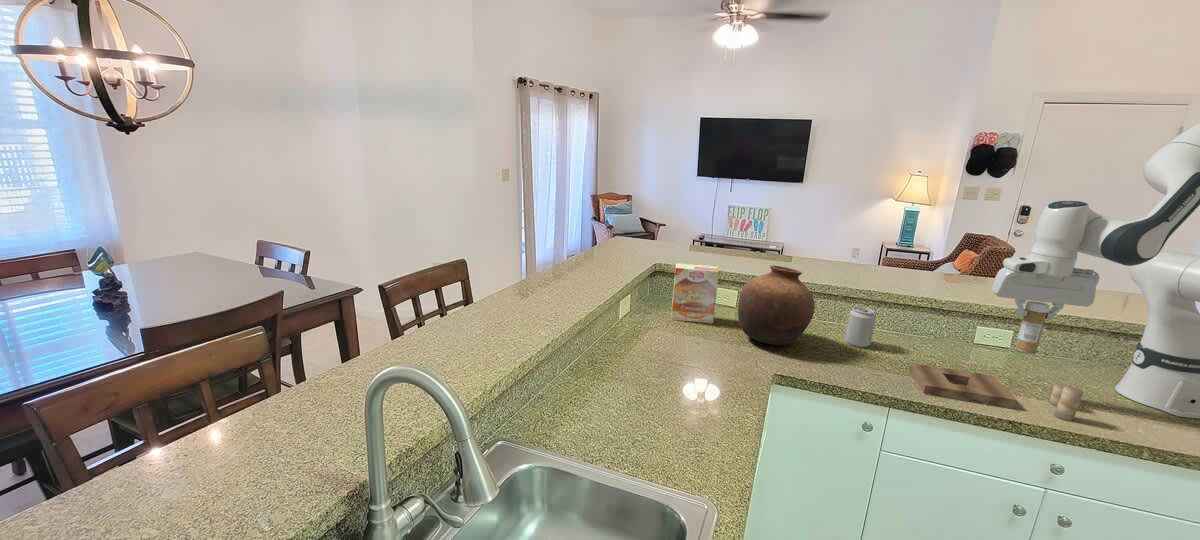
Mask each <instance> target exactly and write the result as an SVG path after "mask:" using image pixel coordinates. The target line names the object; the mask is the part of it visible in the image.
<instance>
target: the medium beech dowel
mask: <svg viewBox="0 0 1200 540" xmlns="http://www.w3.org/2000/svg"><path fill="white" fill-rule="evenodd" d="M1064 386H1065V387H1064V388H1063V391H1062V394H1061V397H1060V400H1059V403H1058V405H1057V407H1055V408H1056V409H1055V411H1054V417H1056V418H1058V419H1060V420H1063V421H1067V422H1073V421H1074V419H1075V417H1076V415H1077V414H1076V413H1077V411H1078V408H1079V405H1080V402H1081V400H1082V397H1083V394H1084V391H1082V390H1081V389H1079V388H1076V387H1073V386H1069V385H1068V386H1066V385H1064Z"/></svg>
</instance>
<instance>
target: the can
mask: <svg viewBox="0 0 1200 540" xmlns="http://www.w3.org/2000/svg"><path fill="white" fill-rule="evenodd" d="M876 319H877V315H875V310H873V309H871V308H869V307H866V306H865V307H864V306H853V307H852V310H850V311H849V315H848V321H847V327H846V332H845V337H844V340H845V341H846V343H847V344H849V345H850V346H852V347H856V348H863V349H864V348H867V347H869V346H870V345H871V344H872V339H873V335H874V329H875V324H876Z"/></svg>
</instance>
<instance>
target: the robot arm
mask: <svg viewBox="0 0 1200 540" xmlns="http://www.w3.org/2000/svg"><path fill="white" fill-rule="evenodd" d="M1142 172H1143V177H1144V180H1145V181H1146V183H1147V184H1148V185H1149V186H1150V187H1151V188H1152V189H1154V190H1155V191H1157V192H1158V193H1161V194H1162V195H1164V196H1163V197H1162V199H1161V200H1160V201H1158V203H1157V204H1156V205H1155V206H1154V207H1153V208H1152V209H1151V210H1150V211H1149V212H1148V213H1147V214H1145V216H1144V217H1142V218H1138V219H1133V220H1132V219H1131V220H1127V219H1120V218H1111V217H1107V216H1103V215H1102V214H1099V213H1097V212H1096V211H1093V209H1091V208H1090V206H1089V203H1087V202H1084V201H1078V200H1059V201H1053V202H1051V203H1048V204H1046V206H1045V208H1044V209H1043V211H1042V212H1041V214H1040V217H1039V219H1038V222H1037V225H1036V228H1035V231H1034V243H1033V245H1032V246H1031V248H1030V250H1029V253H1028V254H1025V255H1020V256H1012V257H1007V258H1004V259H1003V261H1002V265H1003V266H1004V267H1002V268H1001V269H999V270H998V271H997V272H996V275H995V278H994V281H993V284H992V287H991V291H992V293H993V294H994V295H995V296H996V297H999V298H1005V299H1006V298H1007V299H1013V300H1014V302H1015V304H1016V307H1017V310H1016V314H1017V316H1018V317H1024V316H1025V317H1026V316H1027V313H1028V310H1026V308H1025V306H1024V305H1026V303H1027V301H1035V302H1041V303H1049V304H1051V305H1052V306H1053V307H1050V308H1049V312H1048V313H1047V315H1046V319H1045V320H1049V321H1051V320H1052V321H1053V320H1054V319H1055V316H1056V314H1058V313H1059V312H1060V311H1061V310H1063V309H1064V306H1065V305H1067V306H1075V307H1087V308H1088V307H1091V306H1092V305H1093V304H1094V302H1095V299H1096V292H1097V291H1096V290H1097V285H1098V284H1099V280H1100V274H1099V273H1098V272H1096V271H1094V269H1089V268H1088V269H1084V268H1079V267H1075V266H1076V262H1077V259H1078V256H1079V255H1078V253H1081V254H1083V255H1088V256H1092V257H1095V258H1101V259H1104V260H1108V261H1110V262H1113V263H1116V264H1119V265H1123V266H1127V267H1129V266H1130V268H1129V275H1130V278H1131V280H1132V281H1133V282H1134V283H1135V284H1136V285H1137V286H1138V287H1139V289H1140V290H1141V292H1142V294H1143V295H1144V298H1145V301H1146V306H1147V320H1146V323H1145V327H1144V331H1143V334H1142V337H1141V339H1140V340H1141V341H1138V343H1137V345H1136V347H1135V349H1134V351H1133V355H1132V359H1131V364H1130V366H1129V368H1128V370H1127V371H1126V373H1125V374H1124V376H1123V377H1122V378H1121V379H1120V381H1119V382H1118V383H1117V384H1116V385H1115V387H1114V389H1115V391H1116V392H1117V393H1118V394H1120V395H1122V396H1123V397H1125V398H1128V400H1129V399H1130V400H1132V401H1134V402H1136V403H1138V404H1139V403H1140V404H1142V405H1144V406H1148V407H1152V408H1155V409H1158V410H1160V411H1164V412H1166V413H1168V414H1170V415H1173V416H1175V417H1181V418H1187V419H1188V418H1189V419H1200V311H1199V310H1198V308H1197V305H1196V304H1197V303H1200V255H1196V254H1191V253H1185V252H1180V251H1173V250H1172V251H1171V250H1170V251H1168V250H1167V251H1165V250H1162V249H1163V248H1164V246H1165V244H1166V243H1167V241H1168V239H1169V238H1170V237H1171V236H1172V235H1173V234H1174V233H1175V232H1176V231H1177V229H1179V227H1181V225H1183V224H1184V222H1185V221H1186V220H1187V219H1188V218H1189V217H1190V216H1191V215H1192V214H1193V213H1194V212H1195V211H1196V209H1198V208H1199V206H1200V122H1198V123H1196V124H1195V125H1193V126H1191V127H1189V128H1187V129H1186V130H1185V131H1183V132H1181V133H1180V134H1178V135H1177V136H1175V137H1174V138H1172V139H1171V140H1169V141H1168V142H1167V143H1166V144H1164V145H1163V146H1161V148H1159V149H1158V150H1156V152H1155V153H1153V154H1151V156H1150V157H1149V158H1148V159H1147V161H1146V162H1145V164H1144V166H1143V170H1142ZM1196 302H1197V303H1196Z"/></svg>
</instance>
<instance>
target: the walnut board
mask: <svg viewBox="0 0 1200 540" xmlns="http://www.w3.org/2000/svg"><path fill="white" fill-rule="evenodd" d="M908 372H909V374H910V375H911V377H912V378H913V380H914V382H915V383H916V382H917V383H916V384H918V385H919V386H918V385H917V386H918V388H919V387H920V388H921V389H920V388H919V389H920V391H921V390H922V391H923V392H922V391H921V392H922V394H923V393H926V394H925V395H928V394H931V396H934V395H936V396H935V397H940V396H941V397H942V398H946V397H948V398H947V399H952V398H953V400H958V399H959V401H964V400H965V402H970V401H972V402H971V403H976V402H978V404H982V405H989V406H994V407H1000V408H1001V407H1002V408H1007V409H1012V410H1014V409H1015V408H1016V405H1017V401H1018V399H1017V398H1016V397H1015V396H1014V395H1013V394H1011V391H1009V390H1008V389H1007V388H1006V387H1005V386H1004V385H1003V384H1002V383H1001V382H1000V381H999V380H998V379H997V378H996V377H995V376H994V375H991V374H984V373H978V372H972V371H965V370H958V369H953V368H946V367H938V366H932V365H926V364H918V363H913V362H910V364H909V369H908Z"/></svg>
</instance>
